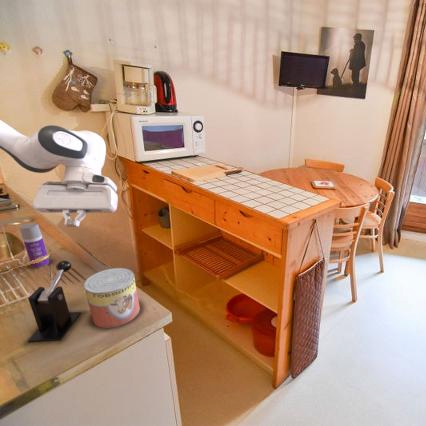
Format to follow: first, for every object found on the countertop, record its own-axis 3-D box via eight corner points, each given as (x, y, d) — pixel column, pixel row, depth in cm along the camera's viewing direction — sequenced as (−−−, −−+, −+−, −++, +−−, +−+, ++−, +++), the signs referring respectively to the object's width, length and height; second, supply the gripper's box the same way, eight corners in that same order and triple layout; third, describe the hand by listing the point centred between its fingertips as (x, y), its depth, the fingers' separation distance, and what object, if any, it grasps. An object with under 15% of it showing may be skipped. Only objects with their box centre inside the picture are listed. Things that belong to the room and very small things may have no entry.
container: (38, 270, 105) (25, 229, 99) (28, 266, 106) (15, 226, 100) (53, 263, 109) (41, 224, 103) (44, 260, 110) (32, 221, 104)
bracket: (53, 316, 86) (41, 280, 82) (81, 315, 88) (72, 279, 83) (29, 344, 77) (14, 306, 73) (61, 342, 79) (49, 304, 74)
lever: (62, 265, 87) (57, 258, 85) (75, 264, 88) (70, 257, 86) (40, 306, 79) (33, 300, 76) (55, 305, 79) (49, 299, 77)
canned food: (105, 336, 82) (96, 298, 77) (85, 317, 87) (75, 281, 82) (148, 313, 90) (142, 278, 86) (127, 297, 96) (121, 263, 91)
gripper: (34, 176, 89) (20, 222, 84) (114, 178, 93) (106, 222, 88) (48, 186, 95) (36, 229, 90) (123, 187, 99) (115, 229, 94)
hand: (71, 226), depth 89 cm, fingers closed
